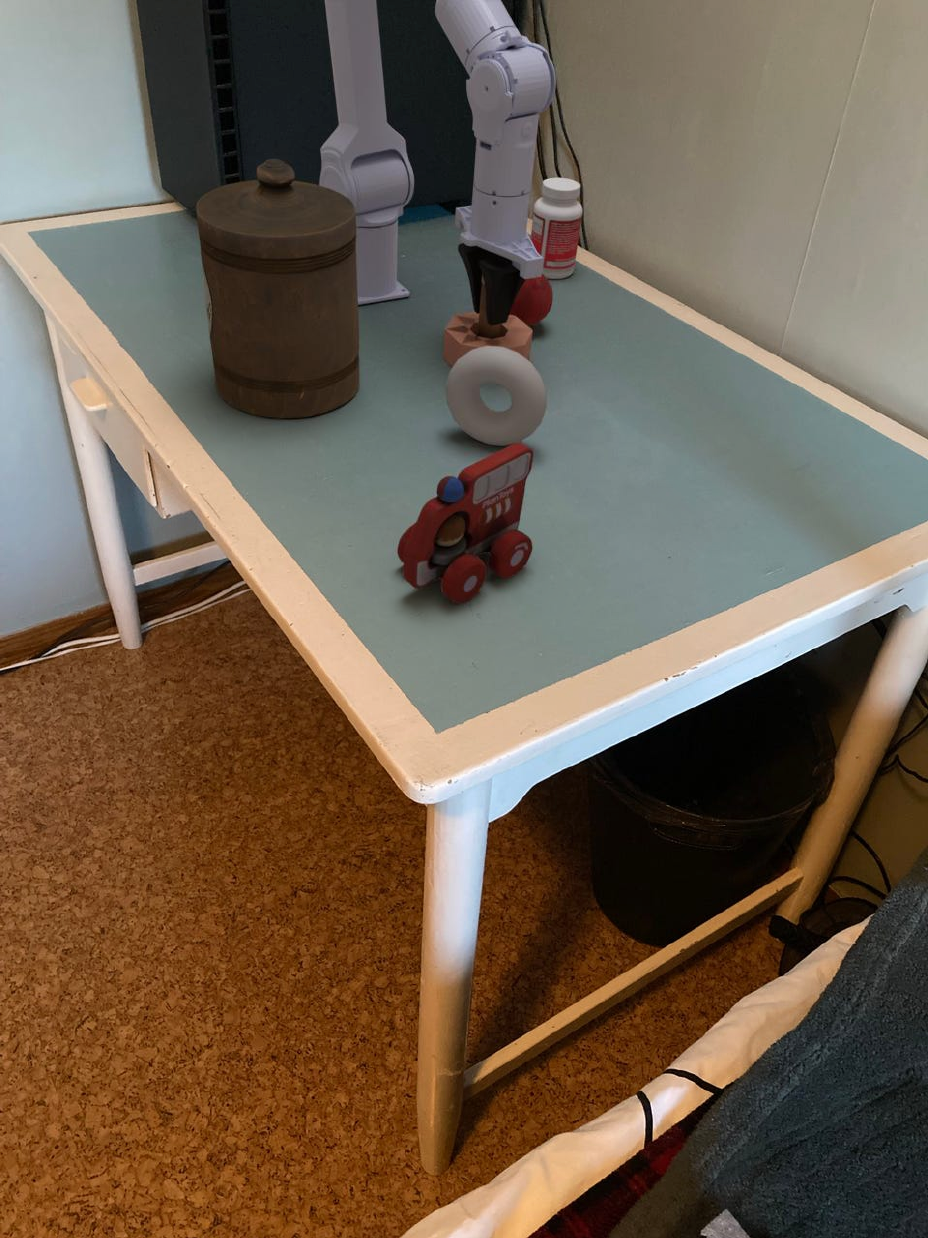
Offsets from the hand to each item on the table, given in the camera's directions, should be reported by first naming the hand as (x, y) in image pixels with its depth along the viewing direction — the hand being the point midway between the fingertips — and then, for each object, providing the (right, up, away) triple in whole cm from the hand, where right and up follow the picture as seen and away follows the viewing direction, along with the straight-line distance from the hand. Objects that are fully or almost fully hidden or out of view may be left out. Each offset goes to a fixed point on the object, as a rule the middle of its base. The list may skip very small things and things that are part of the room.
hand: (490, 316), depth 104 cm
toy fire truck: (-3, -29, -24) cm, 37 cm away
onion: (+4, +2, +10) cm, 11 cm away
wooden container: (-21, -8, -3) cm, 23 cm away
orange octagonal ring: (0, -4, +3) cm, 5 cm away
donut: (0, -15, -9) cm, 18 cm away
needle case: (0, -2, +2) cm, 3 cm away
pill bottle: (+9, +13, +23) cm, 27 cm away
